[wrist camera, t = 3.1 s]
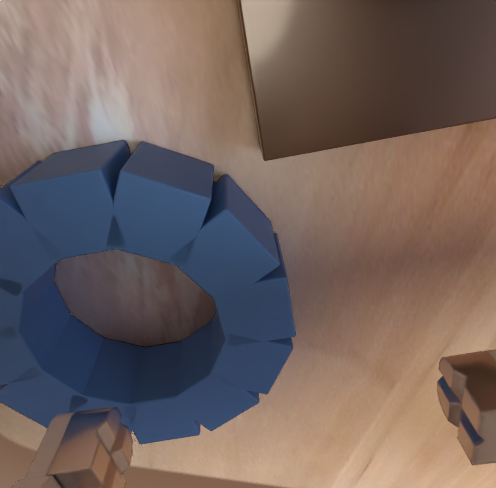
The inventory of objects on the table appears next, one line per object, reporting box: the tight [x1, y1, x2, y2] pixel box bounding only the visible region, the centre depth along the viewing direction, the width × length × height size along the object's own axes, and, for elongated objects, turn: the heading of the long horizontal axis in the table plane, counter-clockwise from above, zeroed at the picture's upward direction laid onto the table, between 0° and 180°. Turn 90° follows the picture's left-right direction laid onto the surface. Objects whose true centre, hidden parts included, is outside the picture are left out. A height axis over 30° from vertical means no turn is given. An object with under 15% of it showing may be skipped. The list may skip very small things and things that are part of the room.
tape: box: [0, 140, 296, 444], centre depth 14 cm, size 11×11×3 cm
